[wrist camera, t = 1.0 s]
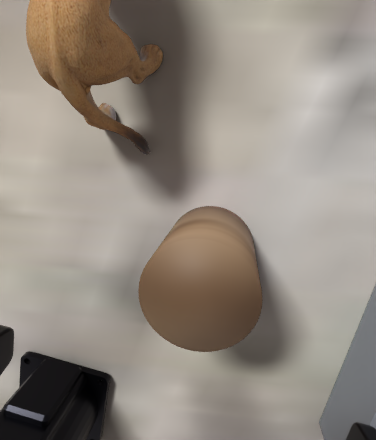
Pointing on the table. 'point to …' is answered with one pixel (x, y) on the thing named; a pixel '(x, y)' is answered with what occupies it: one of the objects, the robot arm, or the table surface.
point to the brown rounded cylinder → (203, 282)
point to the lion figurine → (87, 56)
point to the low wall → (354, 382)
